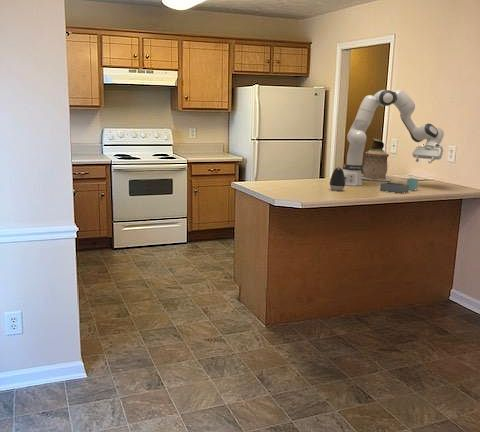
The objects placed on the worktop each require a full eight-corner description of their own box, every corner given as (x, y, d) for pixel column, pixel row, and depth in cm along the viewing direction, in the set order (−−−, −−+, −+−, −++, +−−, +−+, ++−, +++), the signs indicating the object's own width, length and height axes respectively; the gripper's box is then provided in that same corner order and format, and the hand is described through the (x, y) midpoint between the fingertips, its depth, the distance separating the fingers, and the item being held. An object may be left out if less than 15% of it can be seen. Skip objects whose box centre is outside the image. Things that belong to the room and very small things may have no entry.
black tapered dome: (332, 191, 339) (334, 168, 336) (326, 188, 349) (328, 166, 346) (347, 191, 341) (349, 168, 338) (341, 189, 351) (343, 166, 348)
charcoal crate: (399, 193, 341) (400, 186, 340) (380, 190, 351) (380, 183, 350) (408, 192, 349) (409, 185, 348) (388, 189, 359) (389, 182, 358)
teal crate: (413, 191, 355) (414, 179, 354) (406, 190, 359) (407, 178, 357) (416, 190, 359) (418, 178, 358) (410, 189, 363) (411, 178, 361)
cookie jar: (391, 182, 396) (395, 140, 390) (358, 180, 401) (362, 138, 394) (388, 178, 420) (392, 138, 414) (357, 176, 425) (361, 136, 418)
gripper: (415, 143, 374) (407, 157, 369) (443, 145, 360) (435, 160, 355) (418, 149, 378) (410, 163, 373) (445, 151, 364) (438, 166, 359)
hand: (423, 162), depth 364 cm, fingers open, 8 cm apart
